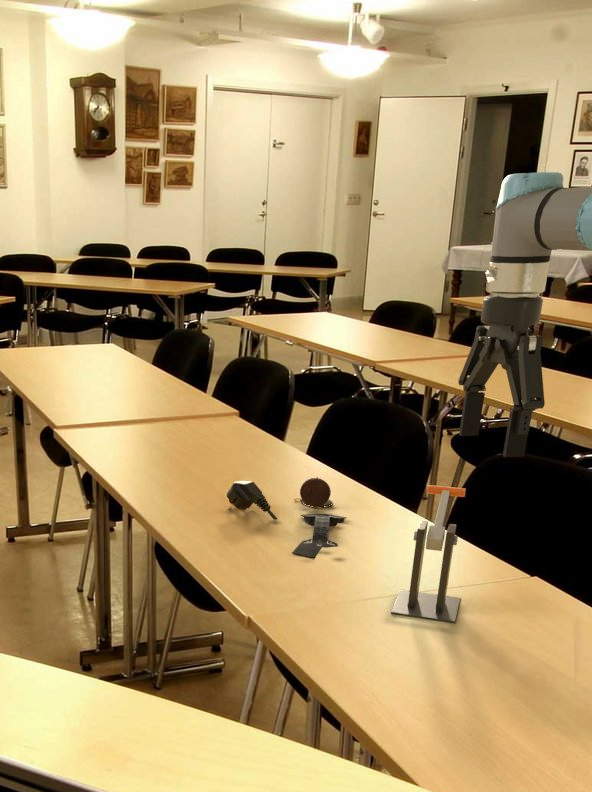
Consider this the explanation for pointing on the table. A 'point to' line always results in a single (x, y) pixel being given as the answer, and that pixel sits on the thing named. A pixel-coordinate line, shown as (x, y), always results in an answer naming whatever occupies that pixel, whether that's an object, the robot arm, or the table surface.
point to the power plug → (247, 497)
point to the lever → (440, 515)
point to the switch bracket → (428, 603)
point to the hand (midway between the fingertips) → (489, 445)
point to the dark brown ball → (315, 493)
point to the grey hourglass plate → (318, 534)
